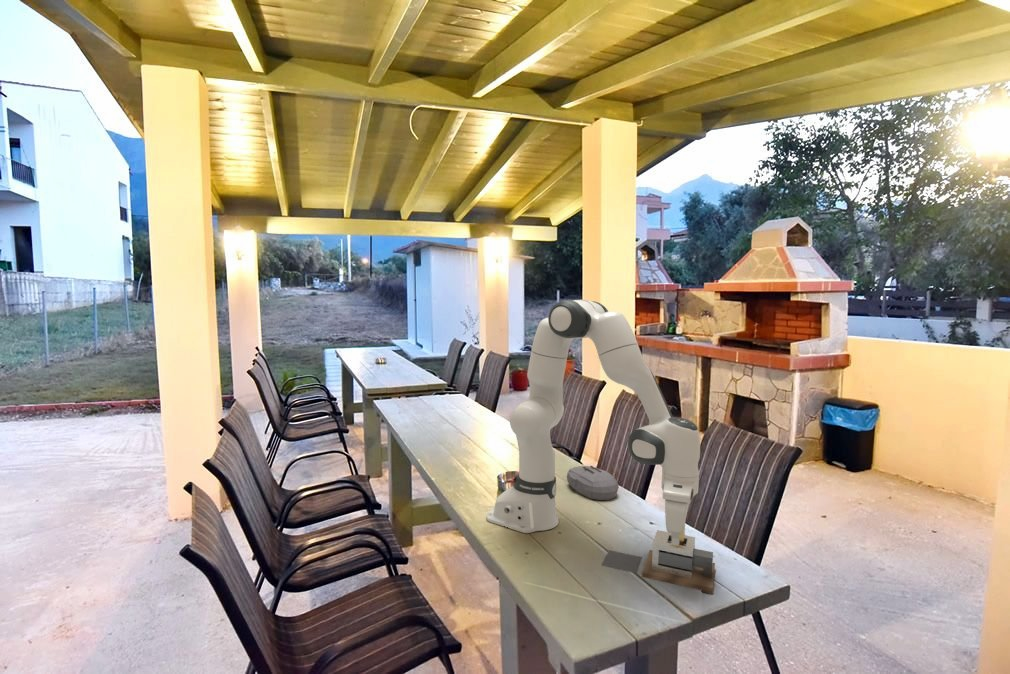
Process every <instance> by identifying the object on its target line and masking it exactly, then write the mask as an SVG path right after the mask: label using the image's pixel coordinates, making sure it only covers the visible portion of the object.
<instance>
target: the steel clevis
mask: <svg viewBox="0 0 1010 674" xmlns="http://www.w3.org/2000/svg"><path fill="white" fill-rule="evenodd" d="M671 542H672V537H671V533H670V532H668V531H665V530H664V531H663V530H659V529H657V530H656V531H655V534H654V539H653V542H652V550H653V551H652V570H656V571H660V572H665V573H670V574H674V575H679V576H683V577H688V578H692V572H693V566H694V567H699V568H703V576H704V577H709V578H712V565H713V563H714V560H713V559H714V552H713V551H710V550H703V549H698V548H696V545H695V544H696V537H695V536H691V535H686V534H684V546H682V545H678V546H676V545H672V543H671Z"/></svg>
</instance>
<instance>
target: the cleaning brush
mask: <svg viewBox="0 0 1010 674" xmlns="http://www.w3.org/2000/svg"><path fill="white" fill-rule="evenodd" d="M566 481H567V483H568V485H569V486H570V487H571V488H572V489H573V490H574V489H575V490H576V491H575V490H574V491H575V492H577V493H578V494H579V495H581V494H582V496H583V495H584V497H585V496H586V497H585V498H589V499H591V500H597V501H609V500H612V499H614V498H615V497H616V496H617V495H618V491H619V486H620V485H619V483H618V481H617V480H616V478H615V477H614V476H613V474H611V473H610V472H608V471H606V470H604V469H602V468H598V467H594V466H593V465H590V466H589V465H582V466H581V465H579V466H575V467H572V468H570V469H569V470H568V471H567V473H566Z"/></svg>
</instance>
